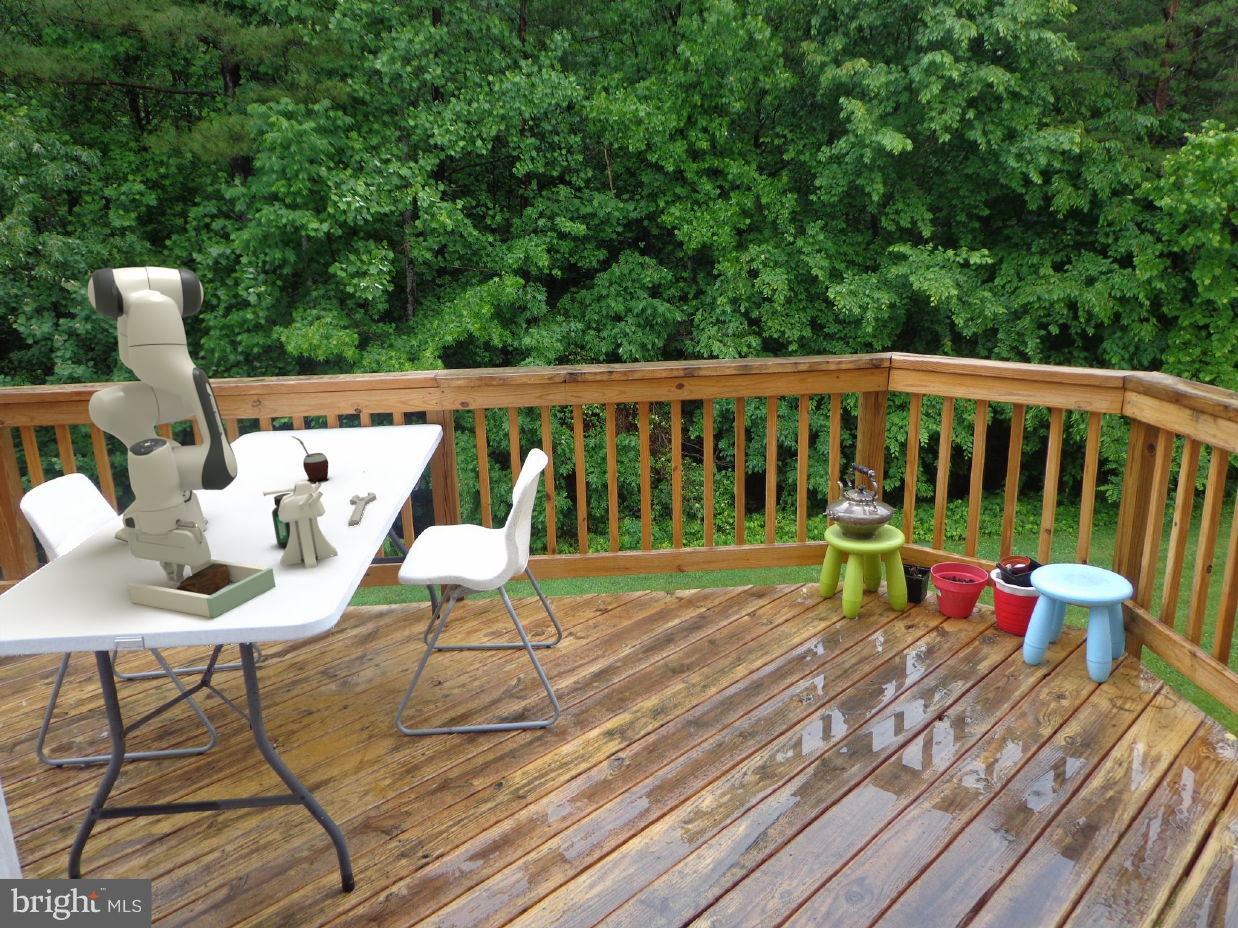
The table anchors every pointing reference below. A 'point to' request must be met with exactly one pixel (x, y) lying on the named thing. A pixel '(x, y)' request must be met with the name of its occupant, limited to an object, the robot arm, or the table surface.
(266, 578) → the bay
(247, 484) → the table surface
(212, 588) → the brick
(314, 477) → the mate gourd
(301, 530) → the toy gun turret
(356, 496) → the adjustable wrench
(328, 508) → the table surface
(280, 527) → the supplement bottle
